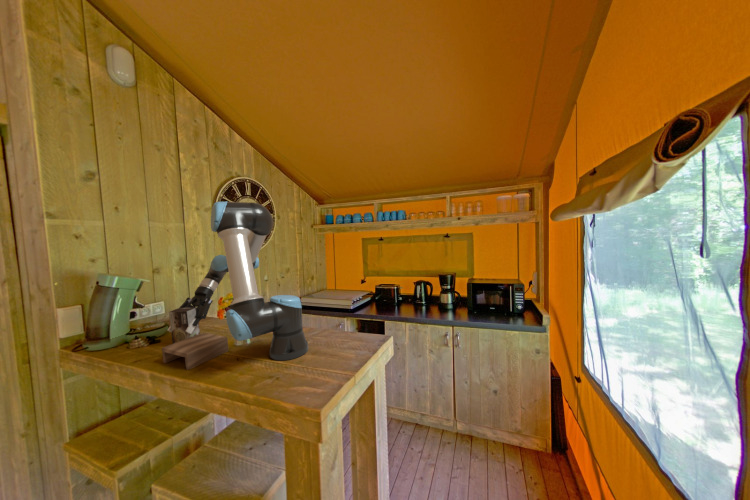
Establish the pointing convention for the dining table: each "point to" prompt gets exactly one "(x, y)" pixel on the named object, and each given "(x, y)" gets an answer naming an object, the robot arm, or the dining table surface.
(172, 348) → the walnut shelf
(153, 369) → the dining table surface
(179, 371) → the dining table surface
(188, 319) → the coffee box
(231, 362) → the dining table surface
